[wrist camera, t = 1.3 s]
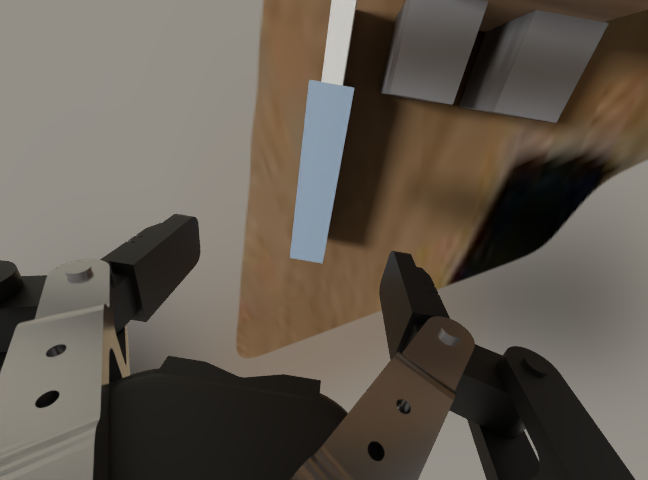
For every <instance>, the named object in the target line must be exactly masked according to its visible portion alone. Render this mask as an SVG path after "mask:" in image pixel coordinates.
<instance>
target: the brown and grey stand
mask: <svg viewBox="0 0 648 480" xmlns="http://www.w3.org/2000/svg"><path fill="white" fill-rule="evenodd" d="M646 10H648V0H404V5H403V7H402V9H401V10H400V12H399V13H398V15H397V17H396V21H395V26H394V30H393V35H392V39H391V44H390V48H389V53H388V57H387V62H386V66H385V71H384V75H383V80H382V84H381V89H380V93H381V94H386V95H392V96H398V97H403V98H409V99H415V100H420V101H426V102H434V103H443V104H452V105H453V103H454V100H455V97H456V94H457V91H458V88H459V85H460V82H461V79H462V77H463V74H464V71H465V68H466V65H467V62H468V59H469V56H470V53H471V51H472V48H473V45H474V42H475V39H476V36H477V33H478V31H483V32H485V35H484V38H483V41H482V44H481V46H480V49H479V52H478V55H477V58H476V60H475V63H474V66H473V69H472V72H471V75H470V77H469V80H468V83H467V86H466V89H465V91H464V94H463V97H462V100H461V103H460V105H459V107H460V108H466V109H472V110H477V111H483V112H489V113H494V114H500V115H506V116H512V117H519V118H526V119H533V120H540V121H547V122H554V123H557V121H558V119H559V117H560V115H561V113H562V111H563V109H564V107H565V106H566V104H567V102H568V100H569V98H570V96H571V94H572V92H573V90H574V88H575V87H576V85H577V83H578V81H579V79H580V77H581V75H582V73H583V71H584V70H585V68H586V66H587V64H588V62H589V60H590V58H591V56H592V54H593V53H594V51H595V49H596V47H597V45H598V43H599V41H600V39H601V37H602V35H603V34H604V32H605V30H606V28H607V26H608V24H609V23H606V21H609V20H613V19H616V18H620V17H624V16H627V15H631V14H635V13H638V12H642V11H646Z"/></svg>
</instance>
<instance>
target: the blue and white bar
mask: <svg viewBox="0 0 648 480" xmlns="http://www.w3.org/2000/svg"><path fill="white" fill-rule="evenodd" d="M356 5H357V0H332V3H331V11H330V19H329V26H328V34H327V42H326V50H325V58H324V65H323V73H322V81H321V82H319V81H314V80H309V87H308V96H307V105H306V115H305V124H304V133H303V142H302V151H301V160H300V170H299V179H298V188H297V197H296V206H295V215H294V225H293V234H292V243H291V252H290V258H294V259H300V260H306V261H312V262H318V263H323V258H324V253H325V247H326V242H327V236H328V231H329V225H330V220H331V214H332V209H333V203H334V198H335V192H336V187H337V181H338V176H339V170H340V165H341V159H342V154H343V148H344V143H345V137H346V132H347V126H348V121H349V115H350V110H351V104H352V99H353V93H354V88H353V87H348V86H344V80H345V73H346V67H347V61H348V55H349V49H350V43H351V37H352V31H353V25H354V19H355V12H356Z"/></svg>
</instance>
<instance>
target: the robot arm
mask: <svg viewBox="0 0 648 480" xmlns="http://www.w3.org/2000/svg"><path fill="white" fill-rule="evenodd" d="M199 257H200V240H199V227H198V221H197V219H196V217H192V216H186V215H179V214H174V215H173V216H171V217H170V218H168V219H167V220H165V221H164V222H163V223H159V224H157V225H154V226H151V227H148V228H146V229H144V230H143V231H142V232H140V233H139V234H137V236H134V237H133V238H131V239H130V240H129V241H128V242H125V243H124V244H122V245H121V246H120V247H118V248H117V249H115V250H114V251H112V252H111V253H109V254H108V255H106V256H105V257H103V258H102V259H100V260H97V259H84V260H78V261H73V262H70V263H66V264H64V265H61V266H60V267H58V268H56V269H54V270H53V271H51V272H50V273H49V274H48V275H47V276H46V275H45V276H21V275H20V273H19V271H18V269H17V267H16V265H15V264H13V263H12V262H9V261H1V260H0V480H418V479H419V476H420V474H421V472H422V469H423V467H424V465H425V463H426V461H427V459H428V456H429V454H430V452H431V450H432V447H433V445H434V443H435V441H436V438H437V436H438V434H439V432H440V429H441V427H442V425H443V423H444V420H445V418H446V416H447V414H448V412H449V410H450V411H452V412H454V413H456V414H458V415H460V416H462V417H464V418H466V419H467V420H468V423H469V426H470V429H471V432H472V436H473V439H474V442H475V445H476V448H477V451H478V454H479V457H480V461H481V464H482V467H483V470H484V473H485V476H486V479H487V480H635V479H634V477H633V476H632V474H631V473H630V471H629V470H628V469H627V467H626V466H625V464H624V463H623V462H622V460H621V459H620V457H619V456H618V455H617V453H616V452H615V450H614V449H613V447H612V446H611V445H610V443H609V442H608V441H607V439H606V438H605V436H604V435H603V434H602V432H601V431H600V429H599V428H598V427H597V425H596V424H595V422H594V421H593V419H592V418H591V417H590V415H589V414H588V412H587V411H586V410H585V408H584V407H583V405H582V404H581V402H580V401H579V400H578V398H577V397H576V395H575V394H574V393H573V391H572V390H571V388H570V387H569V386H568V384H567V383H566V381H565V380H564V378H563V377H562V376H561V374H560V373H559V372H558V370H557V369H556V368H555V367H554V366H553V365H552V364H551V363H550V362H549V361H547V360H546V359H545V358H543V357H542V356H540V355H539V354H537V353H535V352H533V351H531V350H529V349H526V348H523V347H517V346H515V347H514V346H513V347H510V348H508V349H507V350H506V352H505V353H504V355H503V356H502V355H500V354H497V353H495V352H492V351H490V350H488V349H485V348H482V347H480V346H478V345H476V344H475V342H474V339H473V337H472V335H471V334H470V333H469V331H468V330H467V329H466V328H465V327H463V326H462V325H461V324H459V323H457V322H456V321H454V320H452V319H450V318H449V315H448V313H447V311H446V309H445V307H444V305H443V303H442V300H441V298H440V296H439V295H438V292H437V290H436V288H435V287H434V283H433V281H432V279H431V277H430V276H429V275H428V274H427V273H426V272H425V271H424V270H423V269H422V268H419V267H416V265H415V263H414V260H413V258H412V255H411V254H408V253H402V252H396V251H392V252H391V253H390V255H389V258H388V261H387V264H386V267H385V270H384V273H383V277H382V280H381V283H380V291H379V294H380V301H381V307H382V313H383V319H384V324H385V330H386V336H387V342H388V348H389V353H390V359H391V361H390V362H389V363H388V364H387V366H386V367H385V368H384V369H383V371H382V372H381V373H380V374H379V376H378V377H377V378H376V379H375V381H374V382H373V383H372V384H371V386H370V387H369V388H368V389H367V391H366V392H365V393H364V394H363V396H362V397H361V398H360V399H359V401H358V402H357V403H356V404H355V406H354V407H353V408H352V409H351V411H350V412H349V413H347V412H346V411H345V410H344V409H343V408H342V407H341V406H340V405H339V404H337V403H336V402H335V401H333V400H332V399H330V398H328V397H327V396H325V395H323V394H321V393H320V383H321V381H320V380H314V379H308V378H302V377H296V376H290V375H284V374H283V375H271V376H259V377H246V378H243V377H238V376H236V375H234V374H231V373H229V372H227V371H225V370H223V369H220V368H218V367H216V366H214V365H211V364H209V363H207V362H203V361H196V360H191V359H185V358H178V357H172V356H168V357H167V358H166V360H165V361H164V363H163V364H162V366H161V367H160V368H159V369H152V370H146V371H142V372H139V373H136V374H132V375H130V365H129V351H128V332H127V328H126V324H127V323H128V322H129V321H130V320H137V321H143V322H147V321H148V320H149V318H150V317H151V316H152V315H153V314H154V312H155V311H156V310H157V309H158V308H159V307H160V305H162V303H163V302H164V301H165V300H166V299H167V298H168V296H169V295H170V294H171V293H172V292H173V291H174V290H175V288H176V287H177V286H178V285H179V284H180V283H181V281H182V280H183V279H184V278H185V277H186V276H187V275H188V273H189V272H190V271H191V270H192V269H193V268H194V266H195V265H196V264H197V262H198V260H199ZM525 429H526V430H527V432H528V434H529V436H530V438H531V440H532V442H533V444H534V446H535V448H536V450H537V453H538V456H539V461H538V459H537V457H536V455H535V453H534V450H533V448H532V446H531V444H530V442H529V440H528V438H527V436H526V434H525V432H524V430H525Z"/></svg>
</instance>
